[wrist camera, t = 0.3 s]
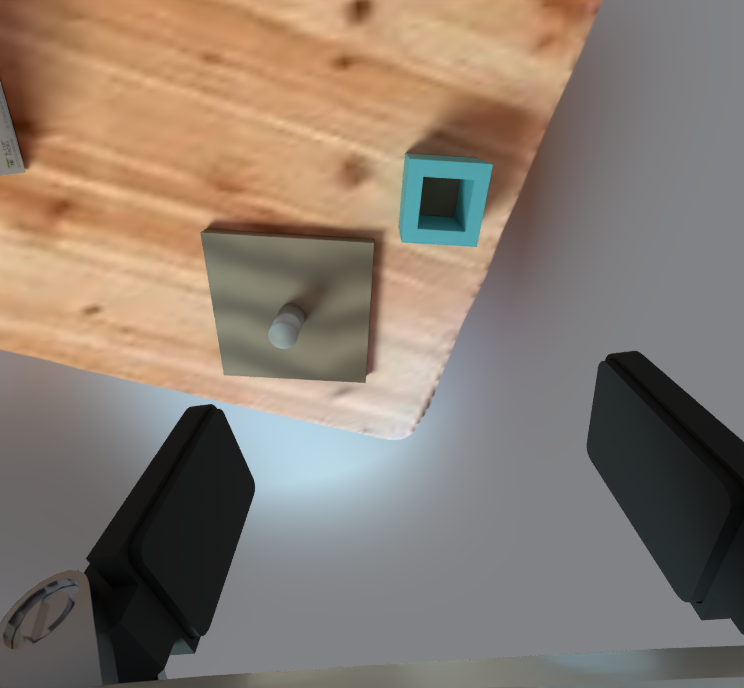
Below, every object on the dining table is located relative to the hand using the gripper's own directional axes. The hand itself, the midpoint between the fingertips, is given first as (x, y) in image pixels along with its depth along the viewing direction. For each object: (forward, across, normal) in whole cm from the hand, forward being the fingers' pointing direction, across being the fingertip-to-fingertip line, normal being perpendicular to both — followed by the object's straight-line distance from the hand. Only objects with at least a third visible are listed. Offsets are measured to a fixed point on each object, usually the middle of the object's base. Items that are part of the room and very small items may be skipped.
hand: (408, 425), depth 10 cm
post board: (+34, +12, +11) cm, 38 cm away
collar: (+34, -5, 0) cm, 35 cm away
